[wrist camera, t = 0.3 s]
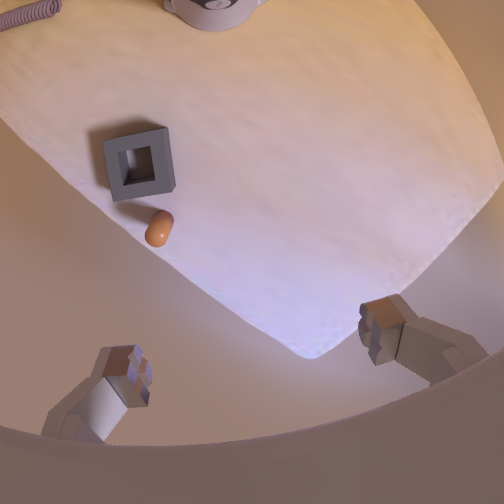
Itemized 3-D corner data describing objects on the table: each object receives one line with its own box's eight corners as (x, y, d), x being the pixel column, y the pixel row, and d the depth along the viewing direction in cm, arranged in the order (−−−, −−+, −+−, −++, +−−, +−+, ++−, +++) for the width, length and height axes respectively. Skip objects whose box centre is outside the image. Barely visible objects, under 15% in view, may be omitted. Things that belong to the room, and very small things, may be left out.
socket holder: (111, 139, 47) (102, 141, 43) (167, 127, 48) (162, 128, 43) (121, 194, 52) (113, 201, 48) (175, 185, 53) (171, 192, 48)
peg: (152, 212, 55) (142, 227, 47) (171, 209, 55) (165, 223, 48) (155, 231, 56) (147, 248, 49) (175, 228, 57) (169, 245, 49)
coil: (-11, 33, 27) (48, 14, 30) (-7, 14, 24) (54, -6, 27) (1, 33, 31) (60, 17, 34) (5, 16, 28) (64, -2, 31)
